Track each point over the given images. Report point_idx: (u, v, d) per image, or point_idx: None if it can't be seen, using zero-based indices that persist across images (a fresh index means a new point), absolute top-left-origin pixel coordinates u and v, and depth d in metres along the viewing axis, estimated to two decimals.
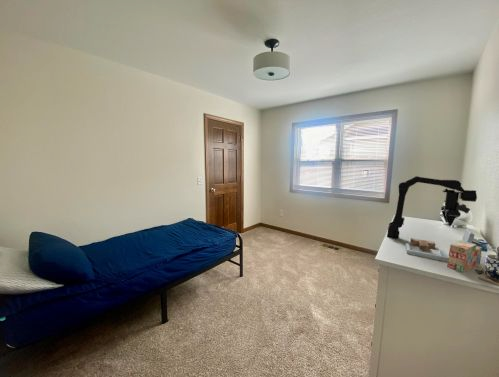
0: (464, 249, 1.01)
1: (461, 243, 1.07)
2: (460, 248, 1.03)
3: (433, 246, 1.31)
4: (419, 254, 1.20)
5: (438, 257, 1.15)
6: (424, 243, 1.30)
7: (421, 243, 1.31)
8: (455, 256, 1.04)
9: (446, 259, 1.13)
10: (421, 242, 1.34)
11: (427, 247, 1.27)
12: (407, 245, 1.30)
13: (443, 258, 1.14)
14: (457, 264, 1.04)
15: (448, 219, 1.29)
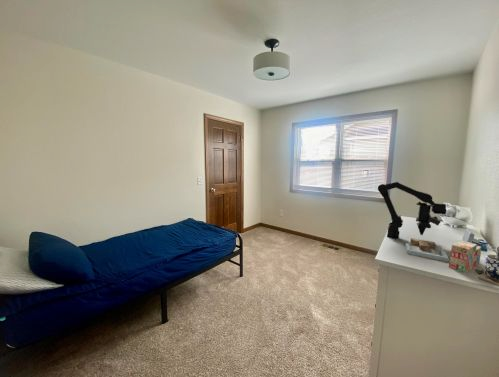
0: (466, 249, 1.01)
1: (462, 243, 1.07)
2: (462, 248, 1.02)
3: (433, 246, 1.31)
4: (419, 254, 1.20)
5: (438, 257, 1.15)
6: (424, 243, 1.30)
7: (421, 243, 1.31)
8: (457, 257, 1.04)
9: (446, 259, 1.13)
10: (421, 242, 1.34)
11: (427, 247, 1.27)
12: (407, 245, 1.30)
13: (443, 258, 1.14)
14: (459, 264, 1.03)
15: (420, 229, 1.41)
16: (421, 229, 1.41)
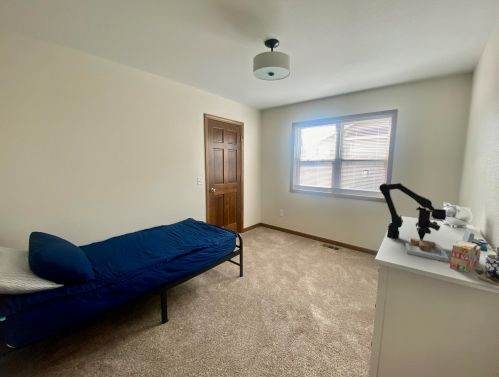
0: (467, 249, 1.01)
1: (462, 243, 1.07)
2: (463, 249, 1.02)
3: (433, 246, 1.31)
4: (419, 254, 1.20)
5: (438, 257, 1.15)
6: (424, 243, 1.30)
7: (421, 243, 1.31)
8: (458, 257, 1.04)
9: (446, 259, 1.13)
10: (421, 242, 1.34)
11: (427, 247, 1.27)
12: (407, 245, 1.30)
13: (443, 258, 1.14)
14: (460, 265, 1.03)
15: (419, 234, 1.40)
16: (421, 234, 1.40)
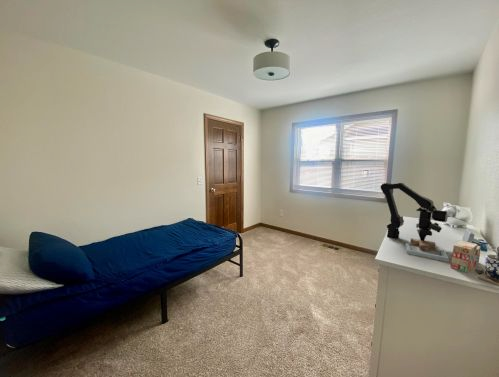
0: (468, 250, 1.01)
1: (463, 243, 1.07)
2: (464, 249, 1.02)
3: (433, 246, 1.31)
4: (419, 254, 1.20)
5: (438, 257, 1.15)
6: (424, 243, 1.30)
7: (421, 243, 1.31)
8: (459, 257, 1.04)
9: (446, 259, 1.13)
10: (421, 242, 1.33)
11: (427, 247, 1.26)
12: (407, 245, 1.30)
13: (443, 258, 1.14)
14: (461, 265, 1.03)
15: (420, 236, 1.37)
16: (422, 236, 1.37)
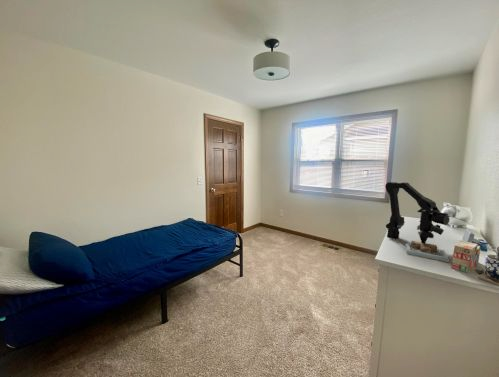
0: (469, 250, 1.00)
1: (463, 243, 1.07)
2: (465, 249, 1.02)
3: (435, 249, 1.26)
4: (419, 254, 1.20)
5: (438, 257, 1.15)
6: (426, 246, 1.25)
7: (422, 246, 1.26)
8: (460, 257, 1.03)
9: (446, 259, 1.13)
10: (422, 244, 1.29)
11: (429, 251, 1.22)
12: (407, 245, 1.30)
13: (443, 258, 1.14)
14: (462, 265, 1.03)
15: (421, 238, 1.32)
16: (423, 238, 1.32)
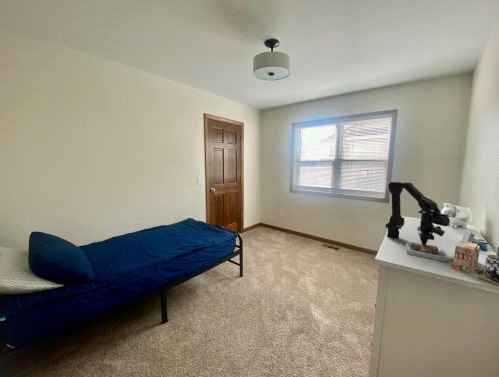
0: (470, 250, 1.00)
1: (464, 243, 1.07)
2: (466, 249, 1.01)
3: (436, 251, 1.24)
4: (419, 254, 1.20)
5: (438, 257, 1.15)
6: (426, 248, 1.23)
7: (423, 248, 1.23)
8: (461, 257, 1.03)
9: (446, 259, 1.13)
10: (423, 246, 1.26)
11: (429, 252, 1.19)
12: (407, 245, 1.30)
13: (443, 258, 1.14)
14: (463, 265, 1.03)
15: (422, 240, 1.30)
16: (423, 240, 1.29)
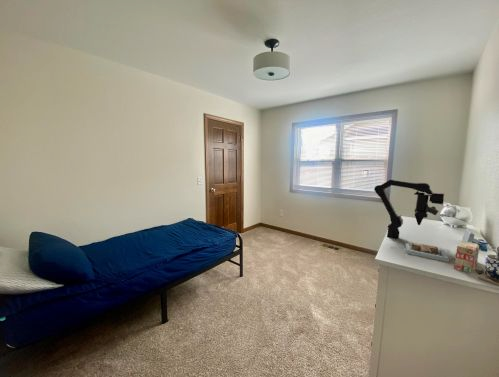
0: (472, 250, 1.00)
1: (465, 243, 1.07)
2: (468, 249, 1.01)
3: (436, 251, 1.23)
4: (419, 254, 1.20)
5: (438, 257, 1.15)
6: (426, 248, 1.23)
7: (423, 248, 1.23)
8: (462, 258, 1.03)
9: (446, 259, 1.13)
10: (423, 246, 1.26)
11: (429, 253, 1.19)
12: (407, 245, 1.30)
13: (443, 258, 1.14)
14: (465, 265, 1.02)
15: (417, 219, 1.40)
16: (418, 219, 1.39)
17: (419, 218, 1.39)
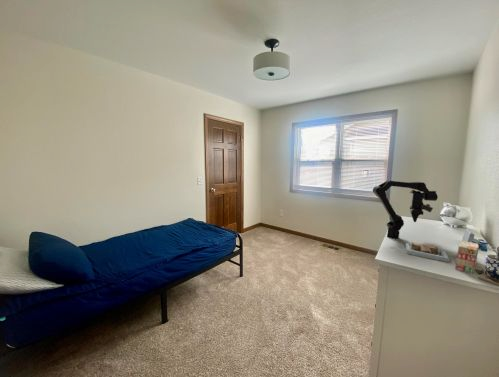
0: (474, 250, 1.00)
1: (466, 244, 1.06)
2: (469, 249, 1.01)
3: (436, 251, 1.23)
4: (419, 254, 1.20)
5: (438, 257, 1.15)
6: (426, 248, 1.23)
7: (423, 248, 1.23)
8: (464, 258, 1.03)
9: (446, 259, 1.13)
10: (423, 246, 1.26)
11: (429, 253, 1.19)
12: (407, 245, 1.30)
13: (443, 258, 1.14)
14: (466, 266, 1.02)
15: (413, 216, 1.46)
16: (414, 216, 1.46)
17: (415, 215, 1.46)
